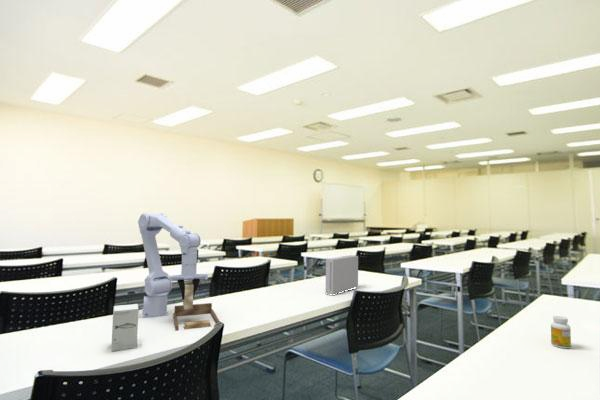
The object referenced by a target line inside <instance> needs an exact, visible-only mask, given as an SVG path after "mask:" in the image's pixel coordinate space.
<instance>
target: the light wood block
mask: <svg viewBox="0 0 600 400" xmlns="http://www.w3.org/2000/svg"><path fill="white" fill-rule="evenodd" d="M184 283H185V286H184V299H182V305H183V306H184V309H193V304H194V299H193V287H194V285H193V283H192V281H184Z"/></svg>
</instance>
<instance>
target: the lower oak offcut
mask: <svg viewBox="0 0 600 400" xmlns="http://www.w3.org/2000/svg"><path fill="white" fill-rule="evenodd" d="M212 326H213V325H212V324H211V323H210V326H207V327H206V328H209V327H210V328H211V327H212ZM182 327H183V330H187V329H185V325H183V326H182ZM202 328H204V327H198V328H197V329H202ZM193 329H196V328H190V329H189V330H193Z"/></svg>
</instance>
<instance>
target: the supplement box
mask: <svg viewBox="0 0 600 400" xmlns="http://www.w3.org/2000/svg"><path fill="white" fill-rule="evenodd" d="M112 311H113V312H112V328H111V329H112V331H111V352H114V351H115V352H116V351H121V350H129V349H136V348H137V347H138V332H139V331H138V328H139V327H138V325H139V303H133V304H121V305H120V304H119V305H114V306H113V310H112Z"/></svg>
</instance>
